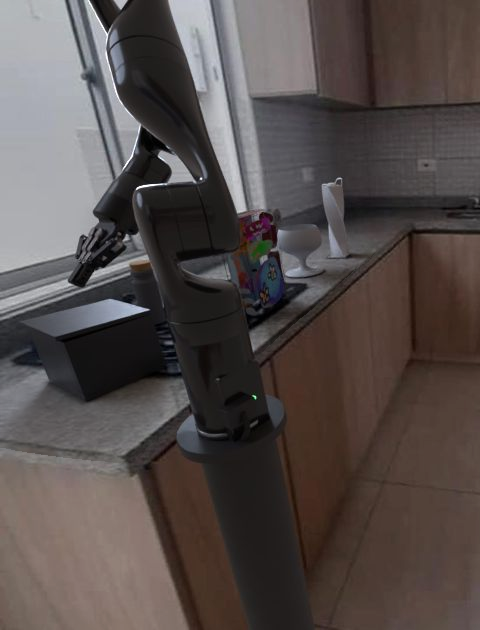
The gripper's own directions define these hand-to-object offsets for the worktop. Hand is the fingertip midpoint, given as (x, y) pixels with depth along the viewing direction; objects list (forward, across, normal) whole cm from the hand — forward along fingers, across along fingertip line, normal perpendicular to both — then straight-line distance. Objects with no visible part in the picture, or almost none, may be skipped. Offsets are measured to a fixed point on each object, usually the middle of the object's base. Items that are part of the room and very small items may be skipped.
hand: (74, 285), depth 77 cm
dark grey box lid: (+5, 0, +5) cm, 7 cm away
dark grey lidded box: (+12, 0, +13) cm, 18 cm away
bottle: (-2, -20, +27) cm, 34 cm away
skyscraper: (-51, -21, +76) cm, 94 cm away
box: (-16, -1, +42) cm, 45 cm away
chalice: (-35, -17, +60) cm, 72 cm away
